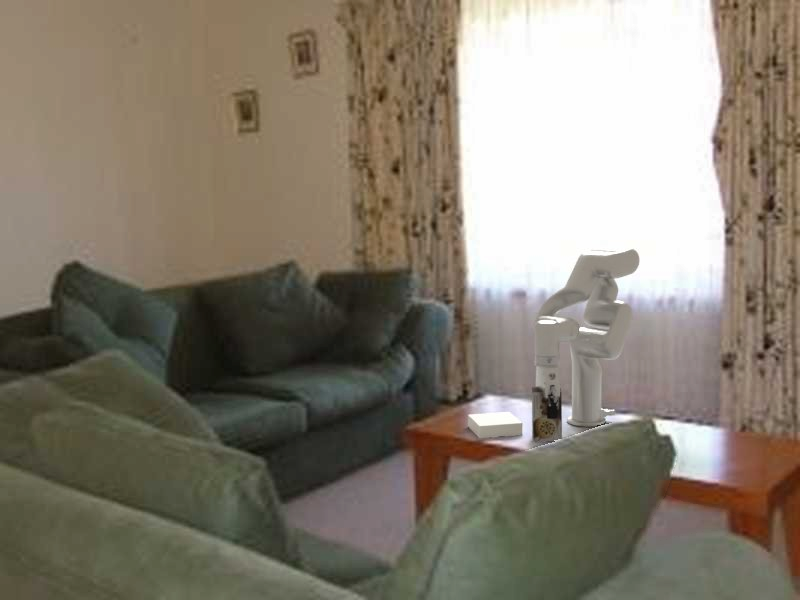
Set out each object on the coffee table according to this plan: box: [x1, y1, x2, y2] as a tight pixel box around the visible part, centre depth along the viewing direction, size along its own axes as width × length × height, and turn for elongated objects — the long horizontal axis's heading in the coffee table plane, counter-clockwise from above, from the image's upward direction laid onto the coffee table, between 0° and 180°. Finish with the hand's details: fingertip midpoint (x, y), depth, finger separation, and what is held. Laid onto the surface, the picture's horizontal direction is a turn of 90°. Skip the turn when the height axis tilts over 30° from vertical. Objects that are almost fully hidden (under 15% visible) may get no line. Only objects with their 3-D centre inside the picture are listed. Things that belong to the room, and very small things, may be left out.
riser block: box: [467, 411, 523, 439], centre depth 311 cm, size 14×14×4 cm
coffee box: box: [531, 386, 563, 443], centre depth 299 cm, size 9×6×16 cm
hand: (546, 414), depth 299 cm, fingers open, 9 cm apart
